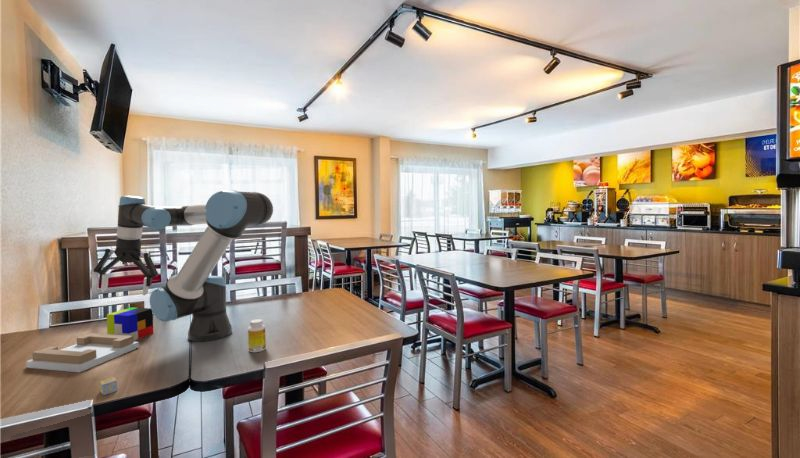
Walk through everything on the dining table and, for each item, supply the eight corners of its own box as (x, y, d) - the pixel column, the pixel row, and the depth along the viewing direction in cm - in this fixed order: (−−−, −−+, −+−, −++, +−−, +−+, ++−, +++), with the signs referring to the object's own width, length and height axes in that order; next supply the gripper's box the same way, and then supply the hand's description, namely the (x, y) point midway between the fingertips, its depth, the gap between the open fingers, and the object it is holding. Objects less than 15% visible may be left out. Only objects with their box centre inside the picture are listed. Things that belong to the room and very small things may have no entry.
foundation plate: (138, 347, 128) (138, 335, 128) (79, 372, 108) (78, 357, 108) (92, 344, 132) (91, 331, 131) (26, 367, 112) (25, 353, 112)
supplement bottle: (266, 351, 124) (265, 321, 123) (249, 354, 121) (248, 324, 121) (264, 345, 129) (264, 317, 128) (248, 348, 126) (247, 319, 126)
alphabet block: (102, 395, 95) (102, 384, 94) (100, 391, 97) (99, 380, 97) (117, 391, 97) (116, 380, 97) (114, 387, 99) (114, 376, 99)
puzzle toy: (129, 342, 133) (128, 315, 133) (107, 340, 135) (106, 314, 135) (153, 333, 143) (152, 308, 143) (132, 331, 145) (131, 307, 145)
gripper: (170, 239, 140) (165, 292, 143) (96, 231, 135) (92, 286, 137) (162, 243, 133) (157, 298, 135) (83, 234, 127) (80, 292, 130)
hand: (125, 292), depth 136 cm, fingers open, 13 cm apart
